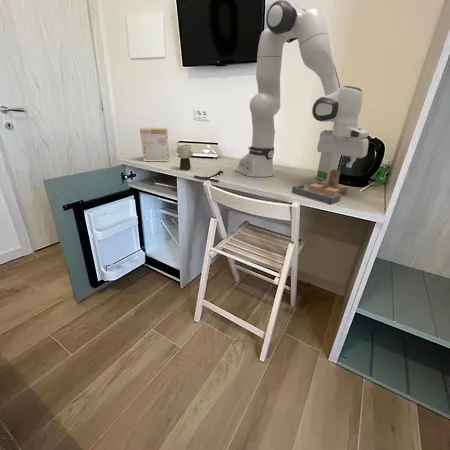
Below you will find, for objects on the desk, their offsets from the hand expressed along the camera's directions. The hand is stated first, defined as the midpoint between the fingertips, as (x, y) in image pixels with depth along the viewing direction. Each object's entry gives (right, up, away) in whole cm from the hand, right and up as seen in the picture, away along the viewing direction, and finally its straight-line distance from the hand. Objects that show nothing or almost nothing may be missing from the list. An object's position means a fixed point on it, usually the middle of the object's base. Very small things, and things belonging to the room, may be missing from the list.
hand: (337, 165), depth 111 cm
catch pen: (-11, -13, -3) cm, 18 cm away
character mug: (-71, +6, +35) cm, 79 cm away
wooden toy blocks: (-1, -10, +5) cm, 11 cm away
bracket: (-54, -2, +22) cm, 58 cm away
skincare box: (+3, -2, +22) cm, 22 cm away
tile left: (-8, -11, +3) cm, 14 cm away
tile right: (-4, -13, -1) cm, 14 cm away
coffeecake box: (-92, +15, +54) cm, 107 cm away
